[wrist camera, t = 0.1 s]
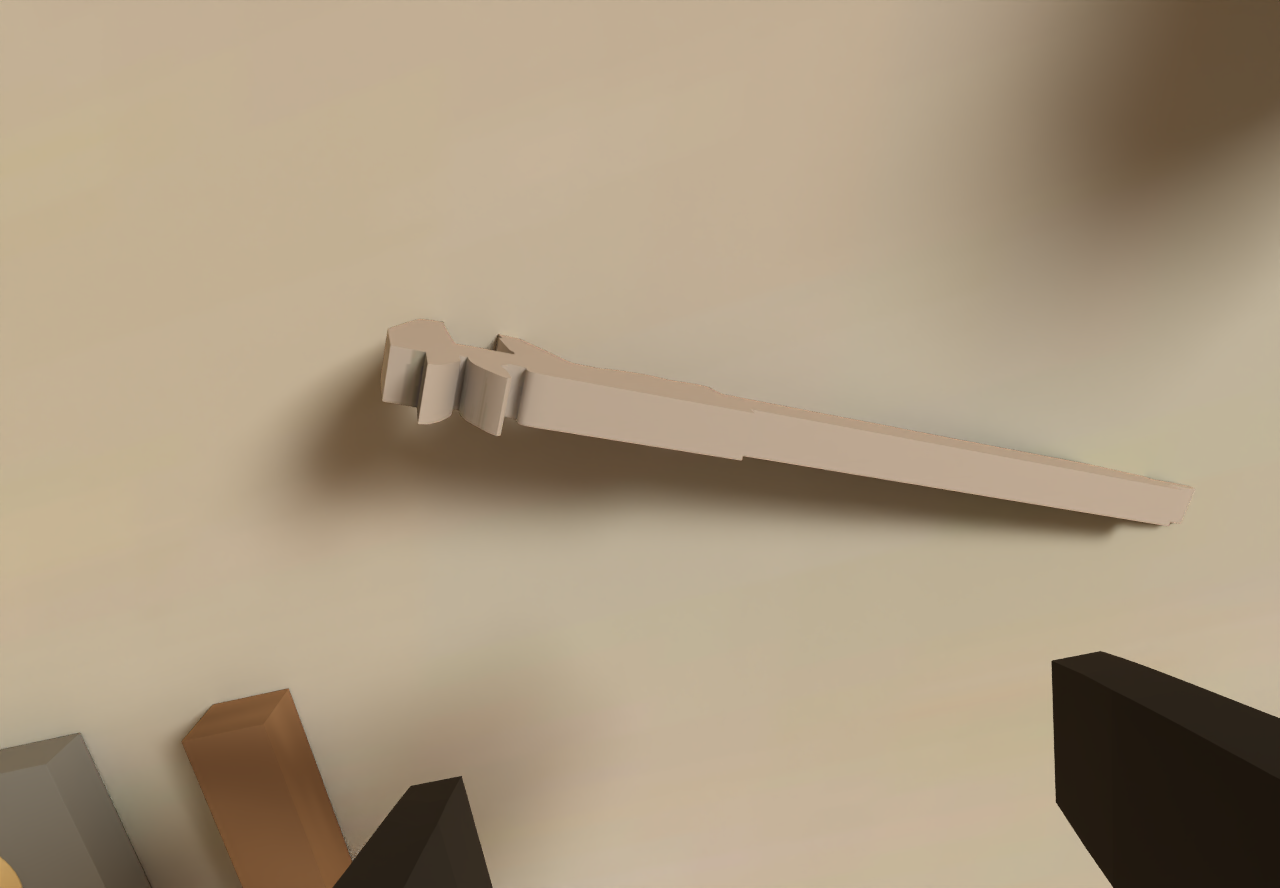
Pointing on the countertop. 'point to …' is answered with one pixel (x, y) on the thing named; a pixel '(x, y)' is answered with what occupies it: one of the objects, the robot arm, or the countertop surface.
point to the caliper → (736, 426)
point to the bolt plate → (60, 821)
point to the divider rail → (267, 793)
